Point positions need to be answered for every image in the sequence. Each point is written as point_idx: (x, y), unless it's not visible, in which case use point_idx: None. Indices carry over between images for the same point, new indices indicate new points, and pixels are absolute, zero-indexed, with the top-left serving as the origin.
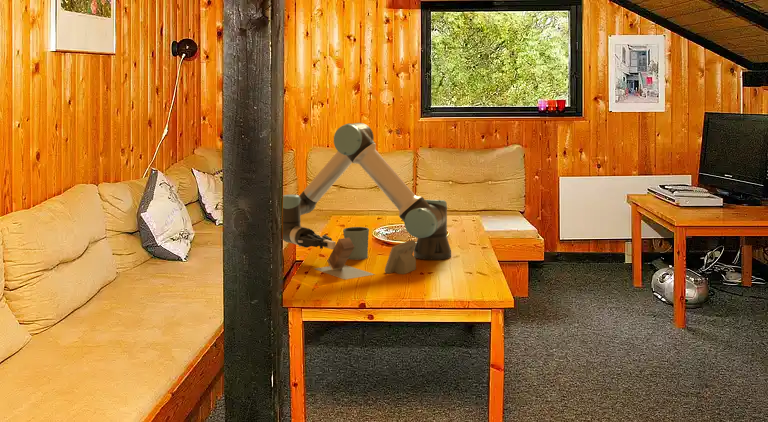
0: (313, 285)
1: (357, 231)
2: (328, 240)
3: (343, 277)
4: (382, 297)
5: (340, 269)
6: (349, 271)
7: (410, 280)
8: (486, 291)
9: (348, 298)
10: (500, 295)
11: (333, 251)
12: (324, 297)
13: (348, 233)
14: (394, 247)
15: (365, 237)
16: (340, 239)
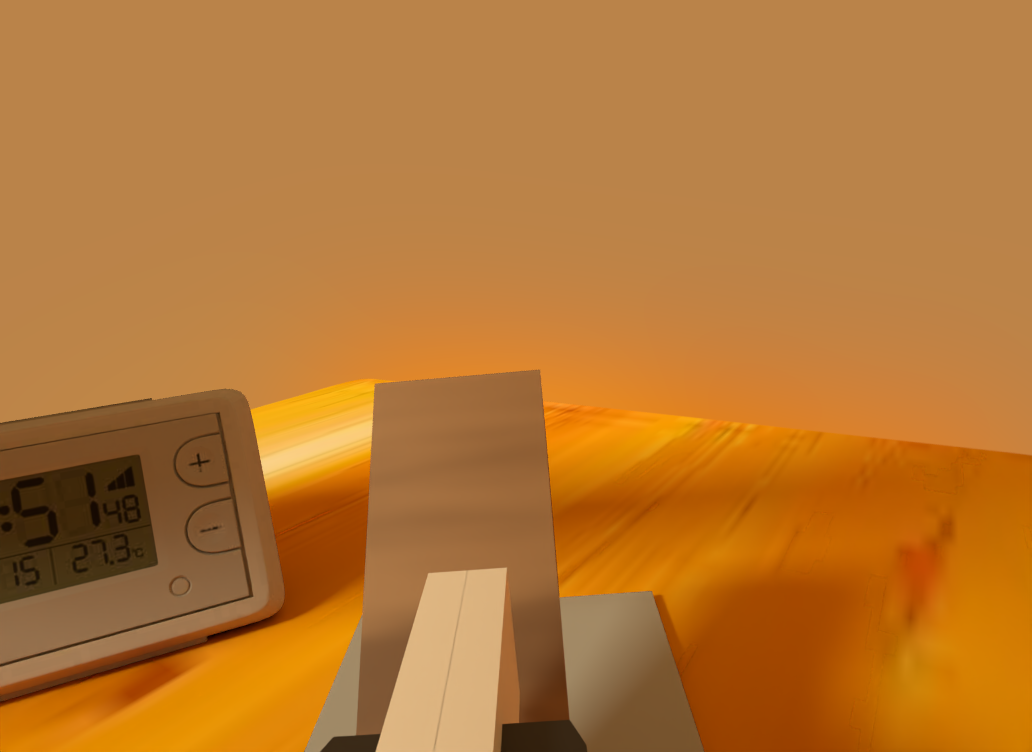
0: (942, 586)
1: None
2: (424, 730)
3: (633, 629)
4: (629, 421)
5: None
6: None
7: (331, 506)
8: (306, 407)
9: (767, 432)
10: (324, 391)
11: (561, 633)
12: (881, 452)
13: None
14: (236, 390)
15: None
16: (522, 377)
